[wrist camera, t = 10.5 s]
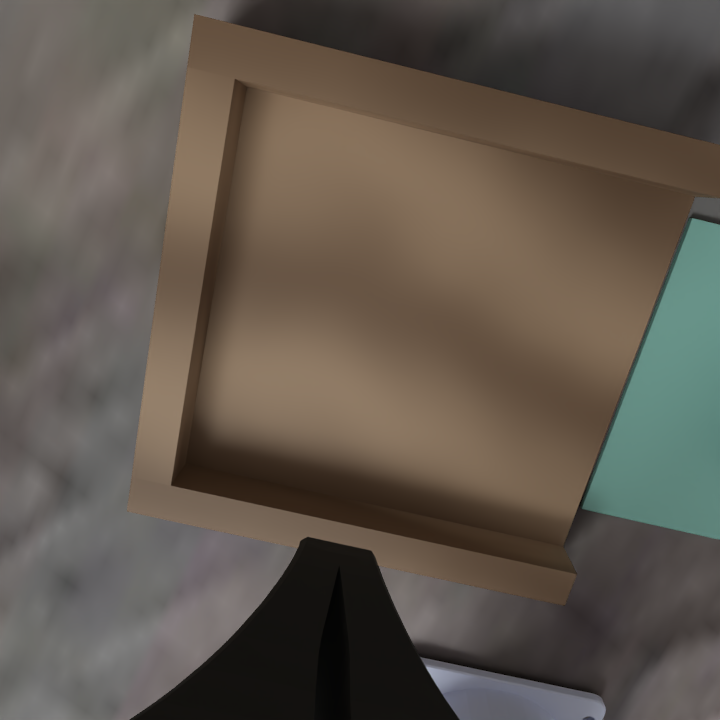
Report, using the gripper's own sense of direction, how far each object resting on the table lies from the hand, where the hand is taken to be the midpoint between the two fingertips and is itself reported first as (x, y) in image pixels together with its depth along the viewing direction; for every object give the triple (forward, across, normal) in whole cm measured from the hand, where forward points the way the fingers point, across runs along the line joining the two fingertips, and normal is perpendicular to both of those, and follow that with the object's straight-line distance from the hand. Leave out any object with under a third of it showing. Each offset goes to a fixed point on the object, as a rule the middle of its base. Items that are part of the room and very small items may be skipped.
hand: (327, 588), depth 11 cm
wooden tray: (+9, -1, -3) cm, 10 cm away
